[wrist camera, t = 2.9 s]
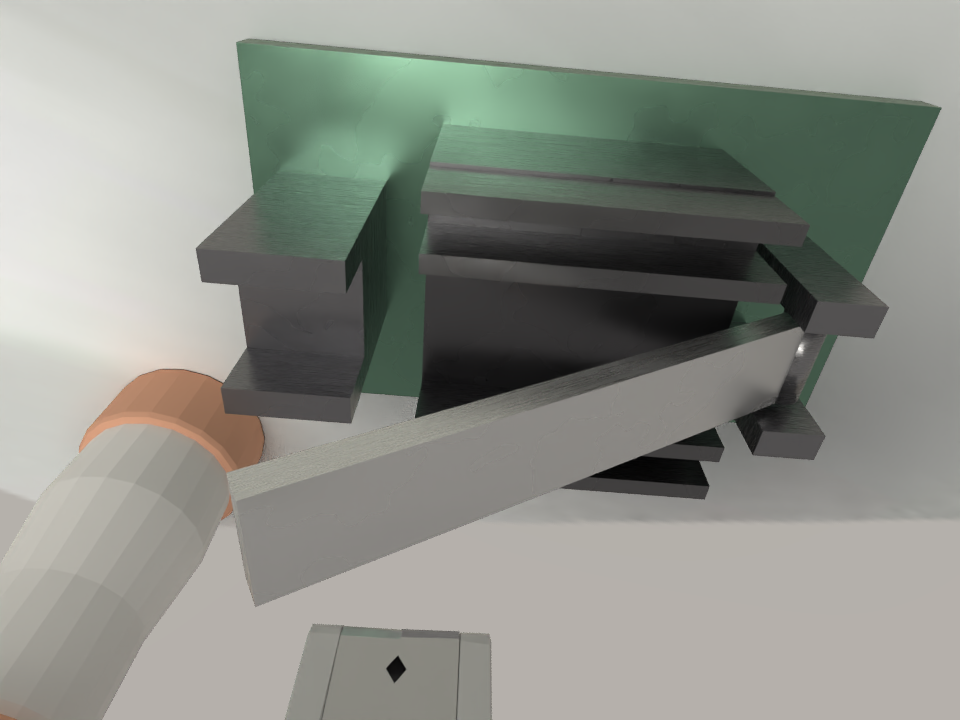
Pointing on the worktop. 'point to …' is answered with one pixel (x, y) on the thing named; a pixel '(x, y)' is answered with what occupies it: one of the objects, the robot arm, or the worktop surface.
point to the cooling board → (542, 232)
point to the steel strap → (499, 452)
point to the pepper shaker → (116, 543)
